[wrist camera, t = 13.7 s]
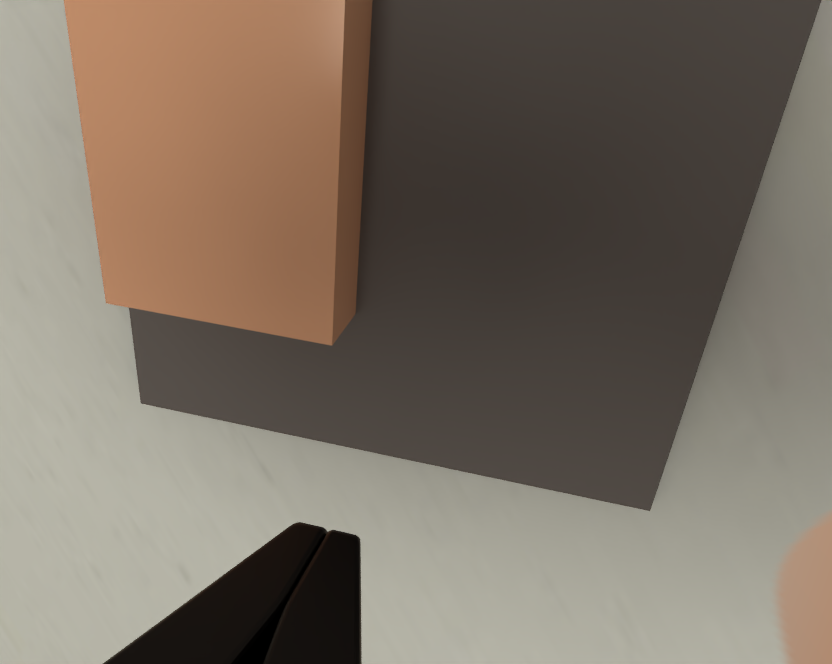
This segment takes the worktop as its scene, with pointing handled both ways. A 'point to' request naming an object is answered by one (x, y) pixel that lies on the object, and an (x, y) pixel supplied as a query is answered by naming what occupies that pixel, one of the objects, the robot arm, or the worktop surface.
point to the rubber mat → (523, 241)
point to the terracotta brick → (226, 156)
